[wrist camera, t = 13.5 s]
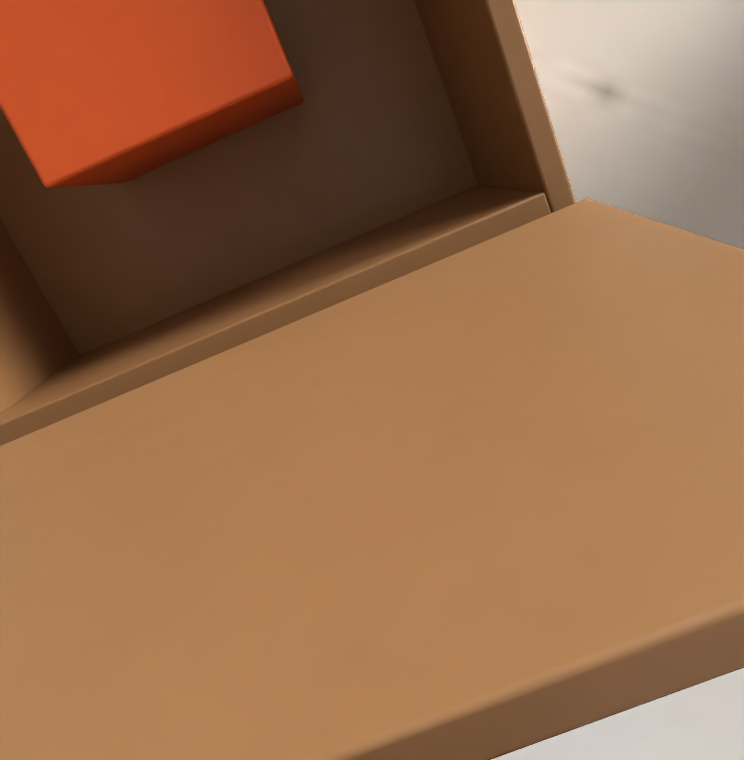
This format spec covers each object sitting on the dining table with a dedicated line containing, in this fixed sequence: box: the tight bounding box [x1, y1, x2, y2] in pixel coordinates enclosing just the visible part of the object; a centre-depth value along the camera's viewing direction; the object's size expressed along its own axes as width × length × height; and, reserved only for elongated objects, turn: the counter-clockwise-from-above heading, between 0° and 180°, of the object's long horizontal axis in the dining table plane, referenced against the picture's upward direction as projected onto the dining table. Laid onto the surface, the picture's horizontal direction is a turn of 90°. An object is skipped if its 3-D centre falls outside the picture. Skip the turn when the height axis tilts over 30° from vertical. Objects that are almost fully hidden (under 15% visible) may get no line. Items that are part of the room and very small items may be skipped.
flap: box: [0, 199, 744, 760], centre depth 7 cm, size 7×11×1 cm
